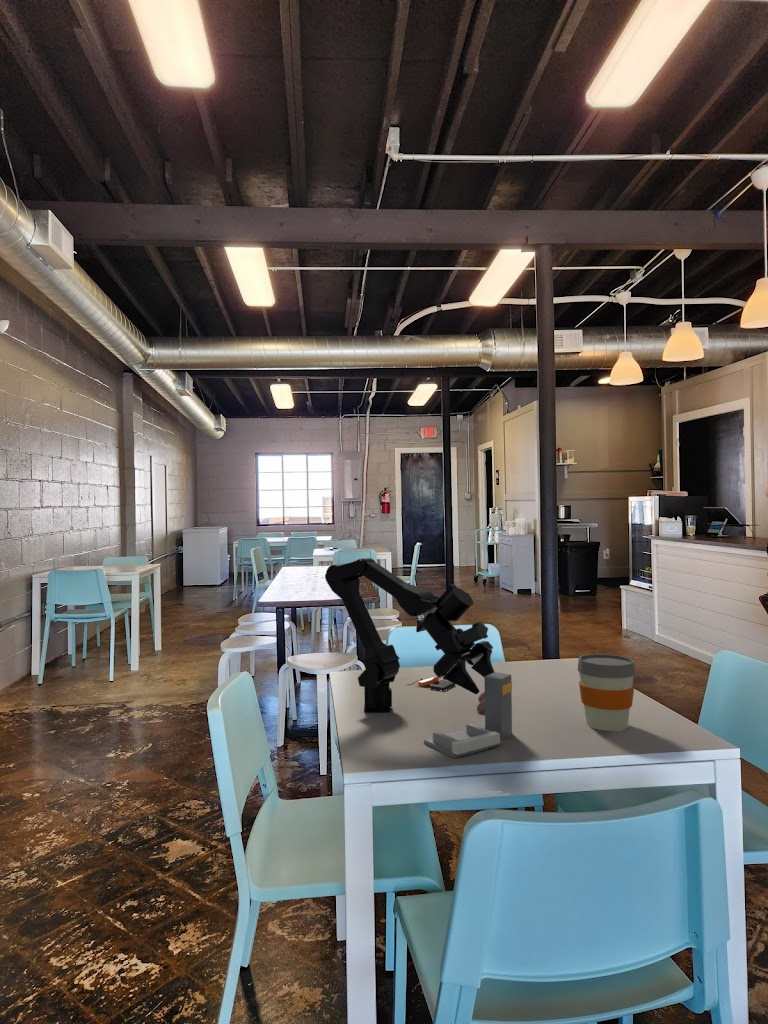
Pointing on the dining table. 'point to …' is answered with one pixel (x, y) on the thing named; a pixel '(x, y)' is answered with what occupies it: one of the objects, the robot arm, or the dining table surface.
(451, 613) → the robot arm
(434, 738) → the rail plate
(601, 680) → the reusable coffee cup
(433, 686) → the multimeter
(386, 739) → the dining table surface
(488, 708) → the block
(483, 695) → the video game controller
